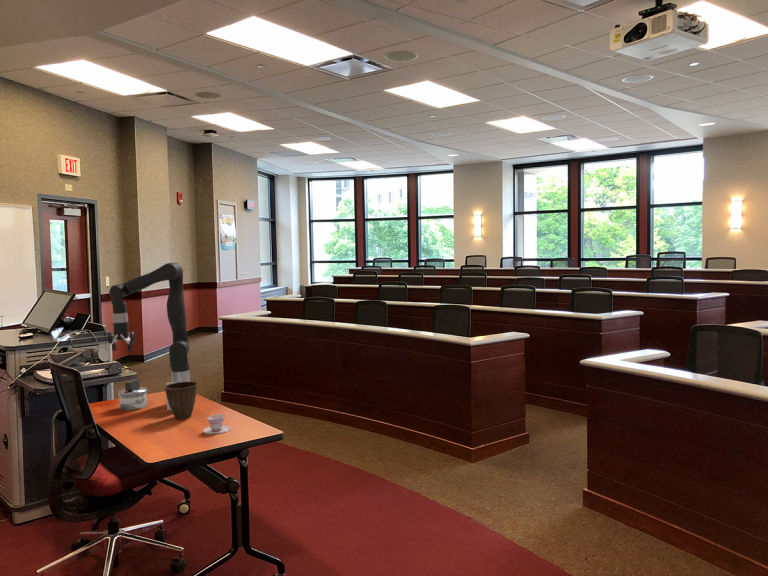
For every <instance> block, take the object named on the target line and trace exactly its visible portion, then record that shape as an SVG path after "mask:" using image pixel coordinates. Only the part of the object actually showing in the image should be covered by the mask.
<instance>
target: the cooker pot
mask: <svg viewBox="0 0 768 576" xmlns="http://www.w3.org/2000/svg"><path fill="white" fill-rule="evenodd" d="M147 392H148V391H147ZM147 392H146V393H143V394H139V395H133V396H120V395H118V397H119V398H118V399H119V411H122V410H123V411H122V412H130V411H129V410H134V411H137V410H136V409H140V408H143V407H145V408H147V407H148V401H147V399H148V398H147ZM146 406H147V407H146ZM143 409H144V408H143ZM140 410H141V409H140Z"/></svg>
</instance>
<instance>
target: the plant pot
mask: <svg viewBox="0 0 768 576" xmlns="http://www.w3.org/2000/svg"><path fill="white" fill-rule="evenodd" d="M197 389H198V383H197V382H195V381H190V382H179V383H173V384H169V385H165V386H164V391H165V393H166V394H165V396H166V400H167V399H168V402H169V405H170V408H171V410H172V411H171V412H172V415H173V417H174V419H175V420H185V419H189V418H191V417H192V414H193V411H194V408H195V403H196V400H197V399H196V398H197V391H198V390H197Z"/></svg>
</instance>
